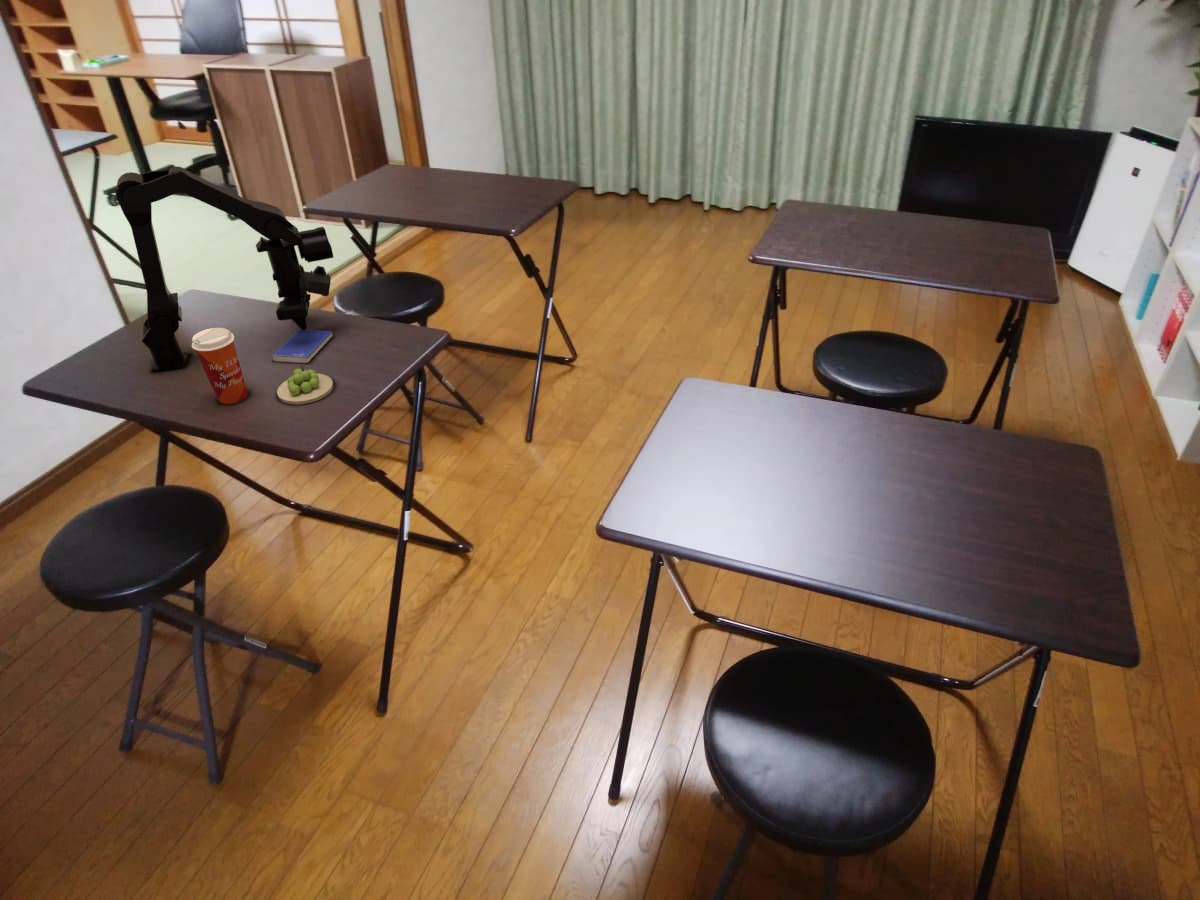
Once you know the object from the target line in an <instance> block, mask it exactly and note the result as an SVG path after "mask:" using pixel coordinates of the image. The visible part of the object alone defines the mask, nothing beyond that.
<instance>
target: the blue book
mask: <svg viewBox="0 0 1200 900" xmlns="http://www.w3.org/2000/svg"><path fill="white" fill-rule="evenodd" d="M332 337H333V332H332V331H330V330H319V329H318V330H316V329H306V330H301V329H298V330H297V331H296V332H295V333H294V334H292V336H291V337H290V338H289V339H288V340H287V341H285V343H283V345H282V346H280V348H278V349H277V350H276V351H275V352H274V353H273V354H272V360H273V361H274V362H283V363H298V364H309V362H310V361H311V360H312V359H313V358H314V357H315V356H316V355H317V354H318V353H319V351H321V349H322V348H323V347H325V345H326V344H327V343H328V342H329V340H331V338H332Z"/></svg>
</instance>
